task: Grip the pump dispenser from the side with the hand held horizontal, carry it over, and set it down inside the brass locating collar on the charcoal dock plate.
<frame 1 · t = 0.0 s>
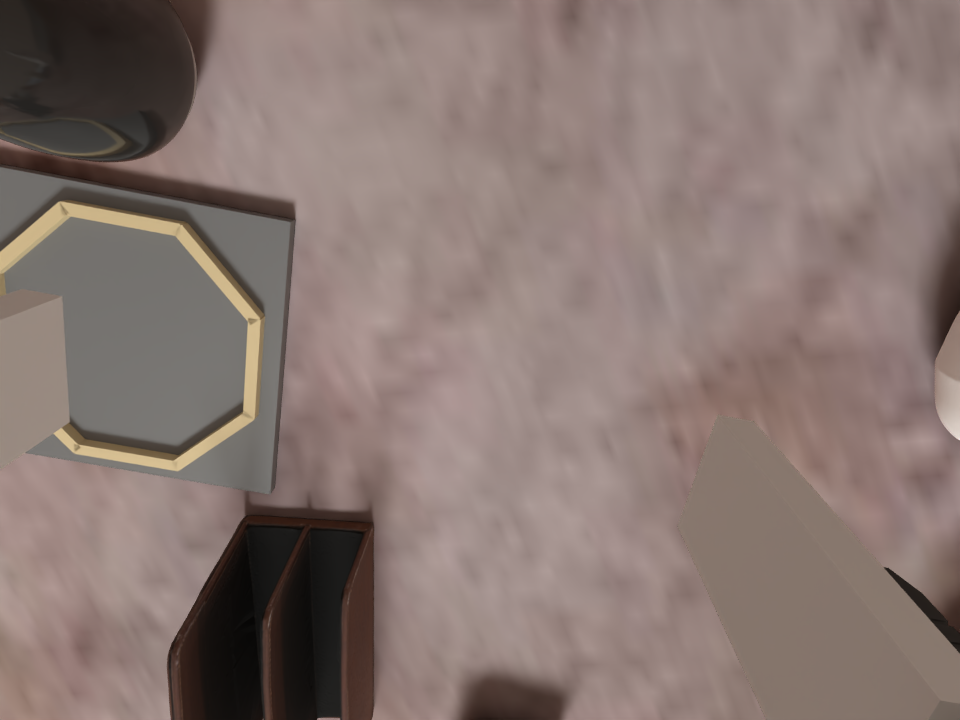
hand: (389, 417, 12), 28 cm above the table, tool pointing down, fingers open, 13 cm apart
letter holder: (315, 615, 51), on the table
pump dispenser: (136, 68, 36), on the table
dock plate: (138, 338, 42), on the table
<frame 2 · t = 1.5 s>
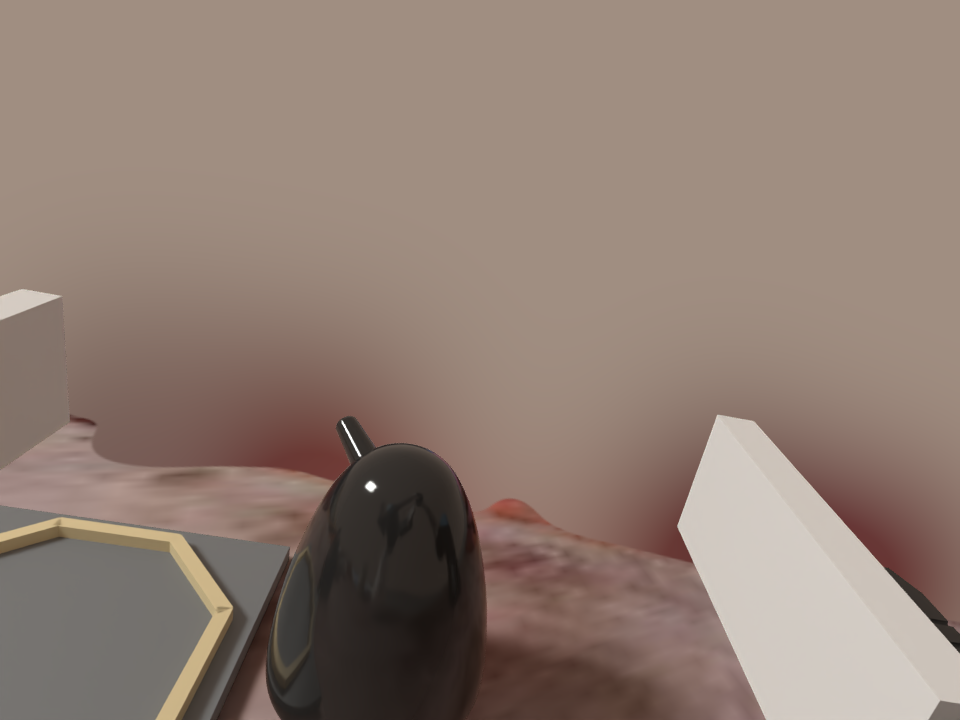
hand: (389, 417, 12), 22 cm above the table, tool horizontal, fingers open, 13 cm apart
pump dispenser: (368, 714, 31), on the table
dock plate: (23, 666, 30), on the table
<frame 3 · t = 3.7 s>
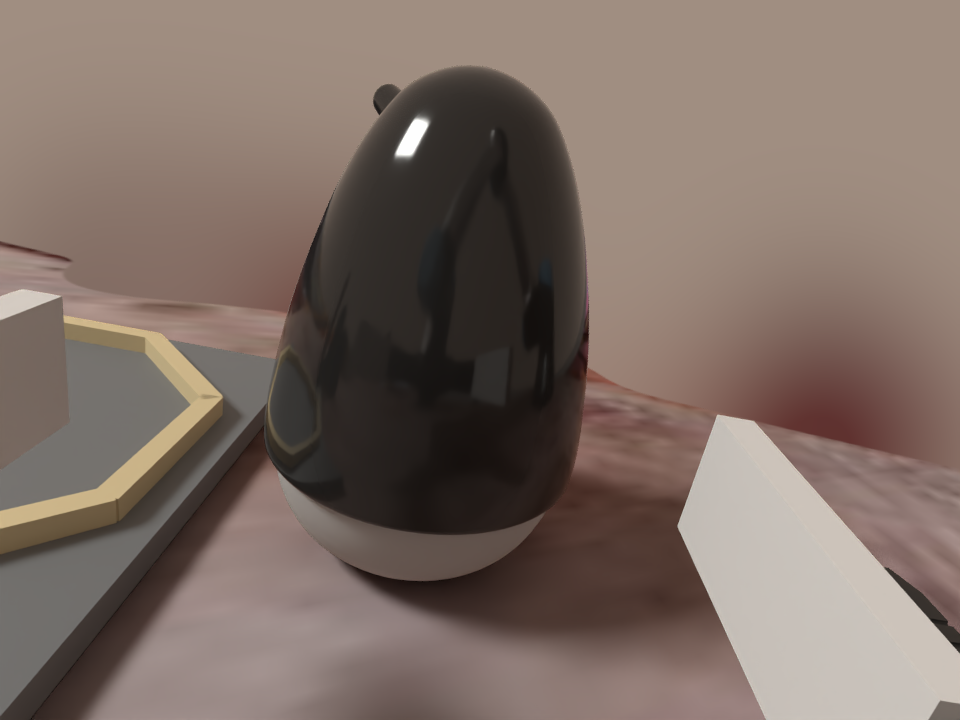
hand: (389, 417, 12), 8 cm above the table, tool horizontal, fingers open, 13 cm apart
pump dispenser: (405, 528, 22), on the table
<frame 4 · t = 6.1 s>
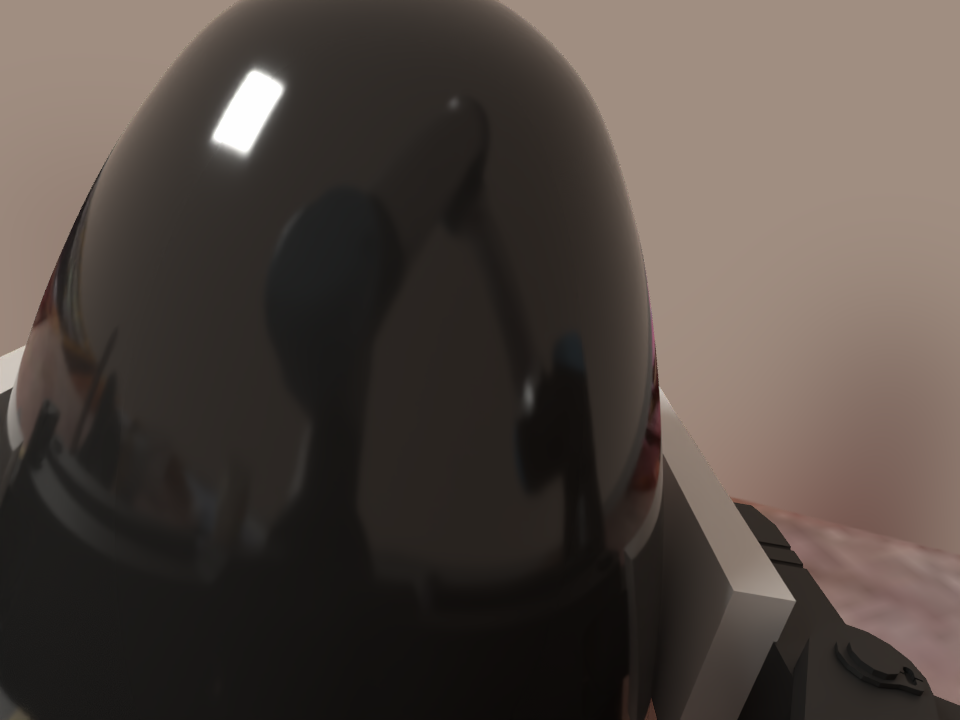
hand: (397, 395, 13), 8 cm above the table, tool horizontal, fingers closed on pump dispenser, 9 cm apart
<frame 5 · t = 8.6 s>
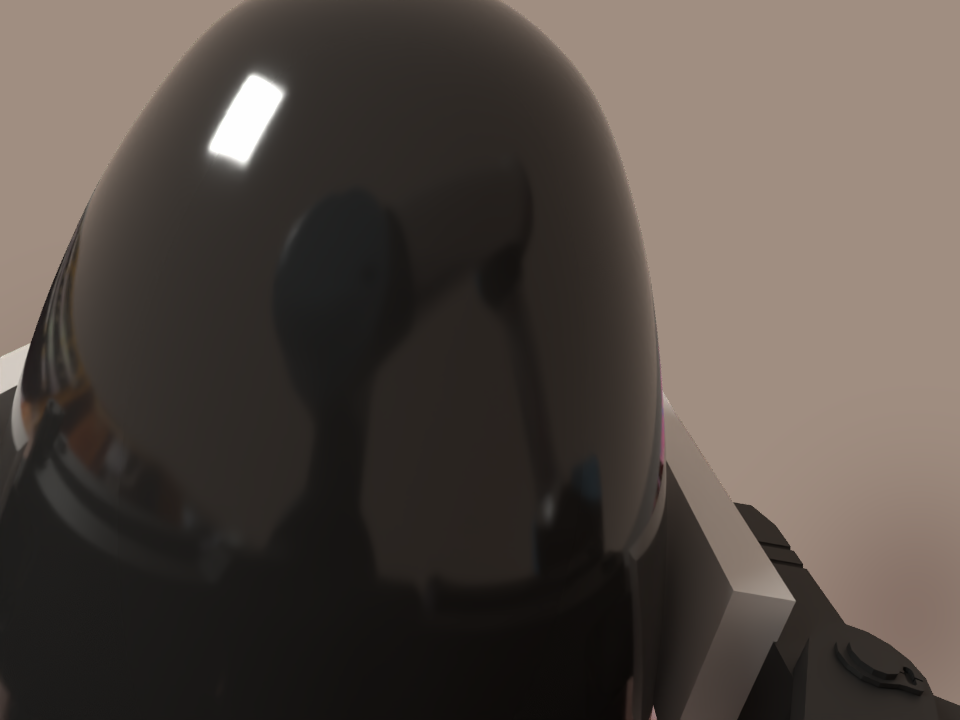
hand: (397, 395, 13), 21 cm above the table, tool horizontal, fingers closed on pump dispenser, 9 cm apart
when the fingers open (11 cm above the table, at t = 11.4 s): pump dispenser drops 2 cm, resting on dock plate.
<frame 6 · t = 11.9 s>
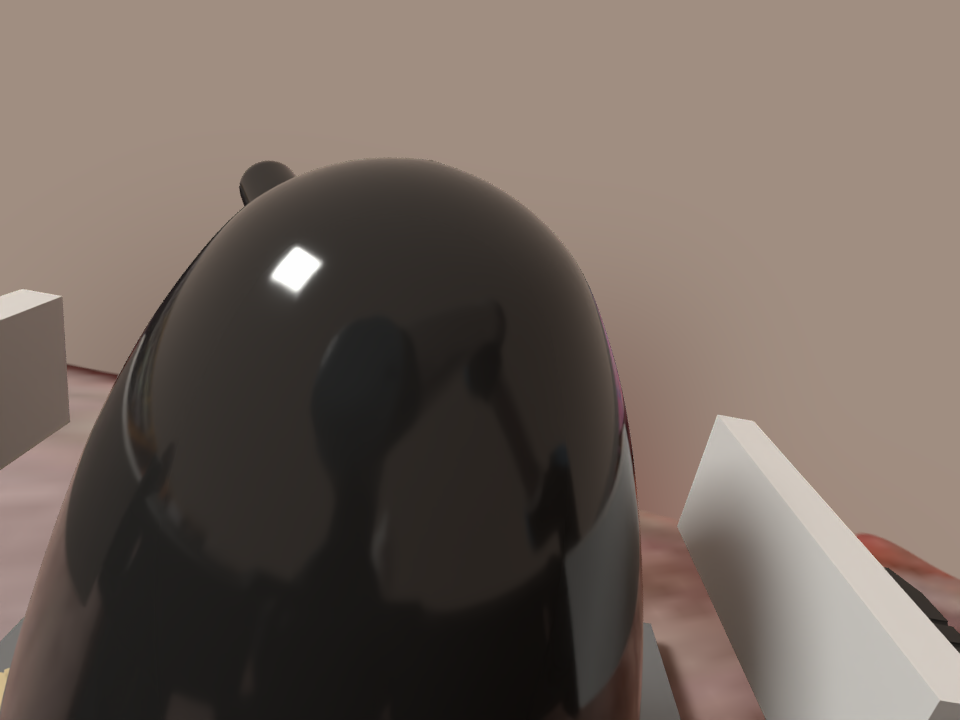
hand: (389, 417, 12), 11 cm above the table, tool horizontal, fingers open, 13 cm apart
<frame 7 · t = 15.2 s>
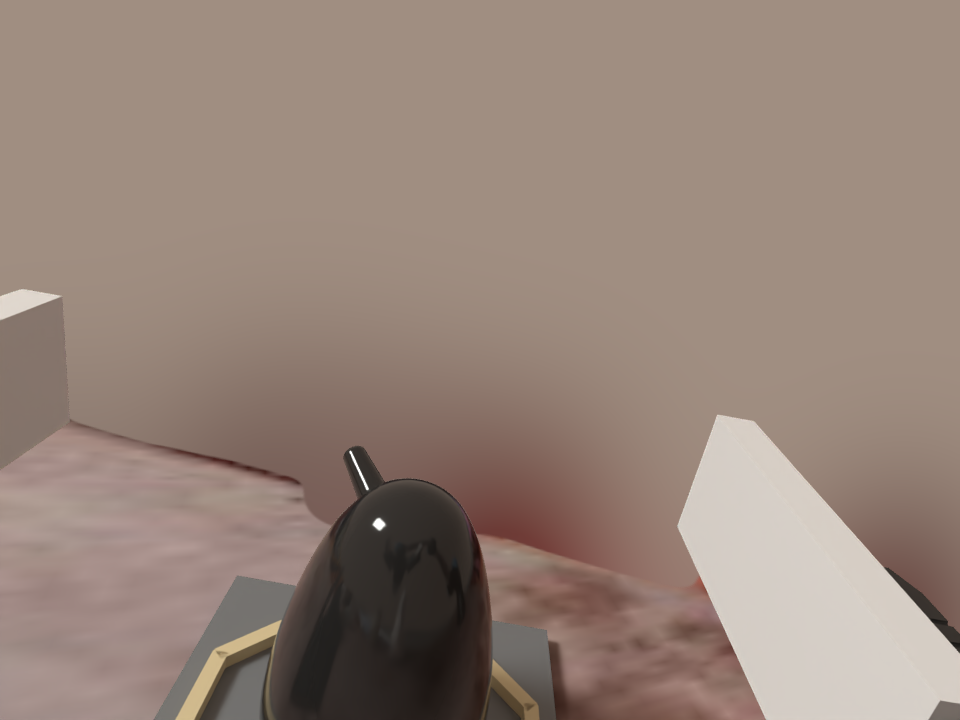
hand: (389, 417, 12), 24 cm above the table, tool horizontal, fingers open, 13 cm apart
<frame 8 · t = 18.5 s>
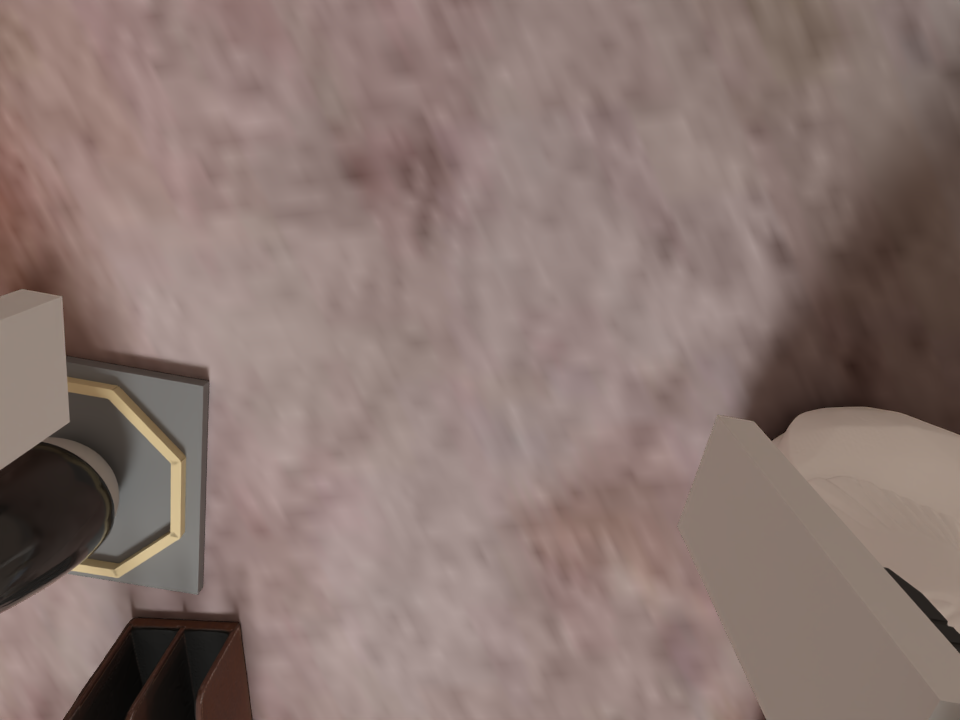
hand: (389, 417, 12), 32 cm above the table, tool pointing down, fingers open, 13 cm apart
letter holder: (201, 696, 59), on the table
decorative rooster: (860, 483, 49), on the table
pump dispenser: (77, 474, 49), point 1 cm above the table, touching dock plate
dock plate: (83, 470, 50), on the table
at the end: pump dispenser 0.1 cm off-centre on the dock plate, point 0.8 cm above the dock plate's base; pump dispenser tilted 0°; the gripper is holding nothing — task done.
